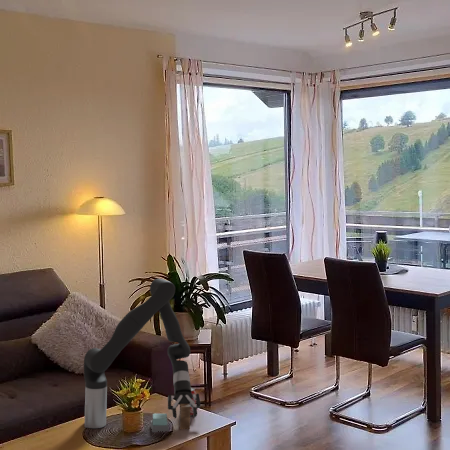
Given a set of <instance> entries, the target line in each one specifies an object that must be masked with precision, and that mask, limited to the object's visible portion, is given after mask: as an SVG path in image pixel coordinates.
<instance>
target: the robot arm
mask: <svg viewBox="0 0 450 450" xmlns="http://www.w3.org/2000/svg"><path fill="white" fill-rule="evenodd" d="M149 292H150V294H151V296H150V297H149V298H147V300H146V301H145V302H143V303H141V304H140V305H138V306H136V307H134V308H133V309H131V310H130V311H129V312H128V313H126V315H124V317H122V319H121V320H120V321H119V322H118V323H117V325H116V327H115V329H114V331H113V334H112V336H111V337H110V339H109V340H108V341H107V343H106V344H104V346H103V347H102V348H98V347H93V348H91V349H89V350H87V351H86V353H85V355H84V358H83V378H84V382H85V383H84V384H85V388H84V389H85V390H84V391H85V392H84V395H85V396H84V397H85V398H84V399H85V400H84V401H85V402H84V428H88V429H101V428H103V427H106V426H107V406H108V405H107V404H108V403H107V400H108V399H107V398H108V396H107V395H108V393H107V392H108V380H107V377H106V375H105V374H106V373H105V372H106V371H107V370H108V369H109V367H111V365H112V364H113V362H114V361H115V359H116V358H117V357H118V355H119V354H120V353H121V351H122V350H124V348H126V346H127V345H128V344H129V343H130V342H131V341H132V340H133V339H134V338H135V336H136V335H138V333H139V332H140V331H141V330H142V329H143V327H145V325H147V323H148V322H149V321H150V320H151V319H152V318H153V317H154V316H155V314H156V313H157V312H159V315H160V318H161V320H162V324H163V327H164V331H165V334H166V335H165V336H166V337H167V340H168V341H169V342H171V343H175V344H171V345H169V346H168V347H167V356H168V358H169V361H170V362H171V367H172V374H173V378H172V379H173V380H172V381H173V383H172V384H173V389H174V390H173V391H174V395H171V394H168V395H167V409H168V410H171V412H172V417H173V418H174V419H177V415H178V414H177V408H178V406H180V404H189V405H190V407H192V408H193V418H197V416H198V409H200V408H201V399H200V394H199V393H196V395H192V393H191V387H192V383H191V377H190V374H189V371H190V370H189V364H188V362H187V361H186V360H181V359H186V358H188V357H189V356H190V355H191V347H190V345H189V343H188V342H187V340H186V339H185V337H184V335H183V332H182V329H181V325H180V322H179V319H178V318H177V315H176V314H175V312H174V310H173V308H172V305H171V303H170V300H172V299H173V297H174V296H175V294H176V286H175V284H174V283H172V282H171V281H169V280H166V279H165V278H155V279H154V280H153V281H151V283H150V286H149ZM192 398H194V399H195V400H196V404H195V403H194V402H193V400H192ZM173 400H174V401H175V403H173V405H172V402H173Z"/></svg>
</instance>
